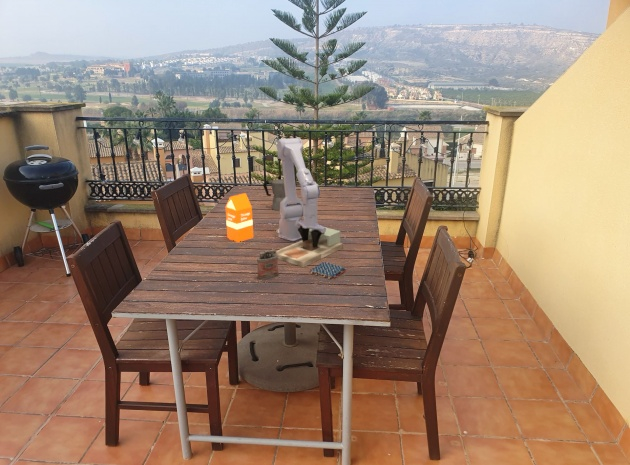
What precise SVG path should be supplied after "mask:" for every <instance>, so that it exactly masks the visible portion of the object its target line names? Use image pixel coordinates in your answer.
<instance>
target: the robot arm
mask: <svg viewBox="0 0 630 465" xmlns="http://www.w3.org/2000/svg"><path fill="white" fill-rule="evenodd" d="M303 149H304V143H303V140H302V139H301V138H300V137H295V138H294V137H293V138H279V139H278V140H277V142H276V152H277V158H278V159H279V160H281V166H282V168H281V169H282V177H283V180H284V187H285V198H284V199H283V200H282V201H281V202H280V211H279V214H280V219H279V221H278V235H277V237H278V238H280V239H283V240H286V241H290V242H295V241H298V240H300V239H301V241H302V240H303V242H304V241H306V240H308V234H309V229H312V230H314V231H312V232H311V236H312V243H313V247H317V245H318V241H319V238H320V236H321V234H322V233H324V232H326V228H327V227H326V226H323V225H321V224H320V223H318V199H319V198H320V197H321V189H320V186H319V184H318V183H317V182H316V181H315V180H314V178H313V176H312V174H311V171H310V169H309V168H306V163H305V160H304V157H303ZM294 167H295V168H294ZM295 169H296V171H297V172H296V176H295ZM296 178H297V180H298V184H299V187H300V191H299V192H300V197H301V198H299V197H298V196H297V188H296ZM287 204H288V205H287ZM302 218H303V220H302Z"/></svg>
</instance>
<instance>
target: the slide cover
mask: <svg viewBox="0 0 630 465" xmlns="http://www.w3.org/2000/svg"><path fill="white" fill-rule="evenodd" d="M312 231H314V230H312V229H309V234H308V239H312V236H311V232H312ZM320 237H321V238H324V239H327V247H330V246H332V245H334V244H336V243H338V242H339V243H341V231H340V230H337V229H334V228H333V229H332V228H330V227H326V232H324V233H322V234H321V236H320Z"/></svg>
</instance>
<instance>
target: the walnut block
mask: <svg viewBox="0 0 630 465" xmlns="http://www.w3.org/2000/svg"><path fill="white" fill-rule="evenodd" d="M317 248H318V245H317V247H313V243H312V240H311V239H308V240H306V241H304V242H303V249H306V250H309V251H313V250H315V249H317Z"/></svg>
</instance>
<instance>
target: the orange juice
mask: <svg viewBox="0 0 630 465" xmlns="http://www.w3.org/2000/svg"><path fill="white" fill-rule="evenodd" d="M225 216H226V217H225V219H226V220H225V221H226V222H225V223H226V236H227V239H228V238H229V239H228V240H230V241H233V240H234V241H233V242H236V243H240V241H241V242H243V241H244V242H245V241H246V240H250V239H253V238H254V226H253V225H254V224H253V223H254V222H253V206H252V204H251V203H250V200H249V198H248V196H247V193H246V192H244V193H239V194H236V195H231V196H230V197H229V199H228V201H227V203H226V205H225Z"/></svg>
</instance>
